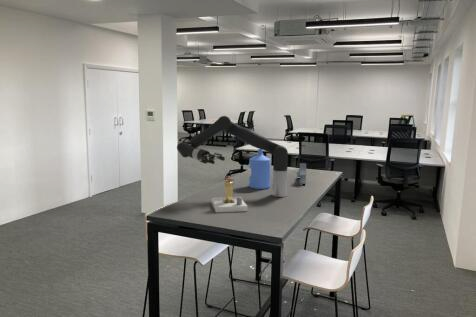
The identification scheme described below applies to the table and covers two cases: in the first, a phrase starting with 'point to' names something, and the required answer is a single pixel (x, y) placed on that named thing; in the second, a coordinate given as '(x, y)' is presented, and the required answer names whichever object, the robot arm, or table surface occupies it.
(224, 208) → the plate
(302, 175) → the faucet
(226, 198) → the valve
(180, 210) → the table surface
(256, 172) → the water jug
